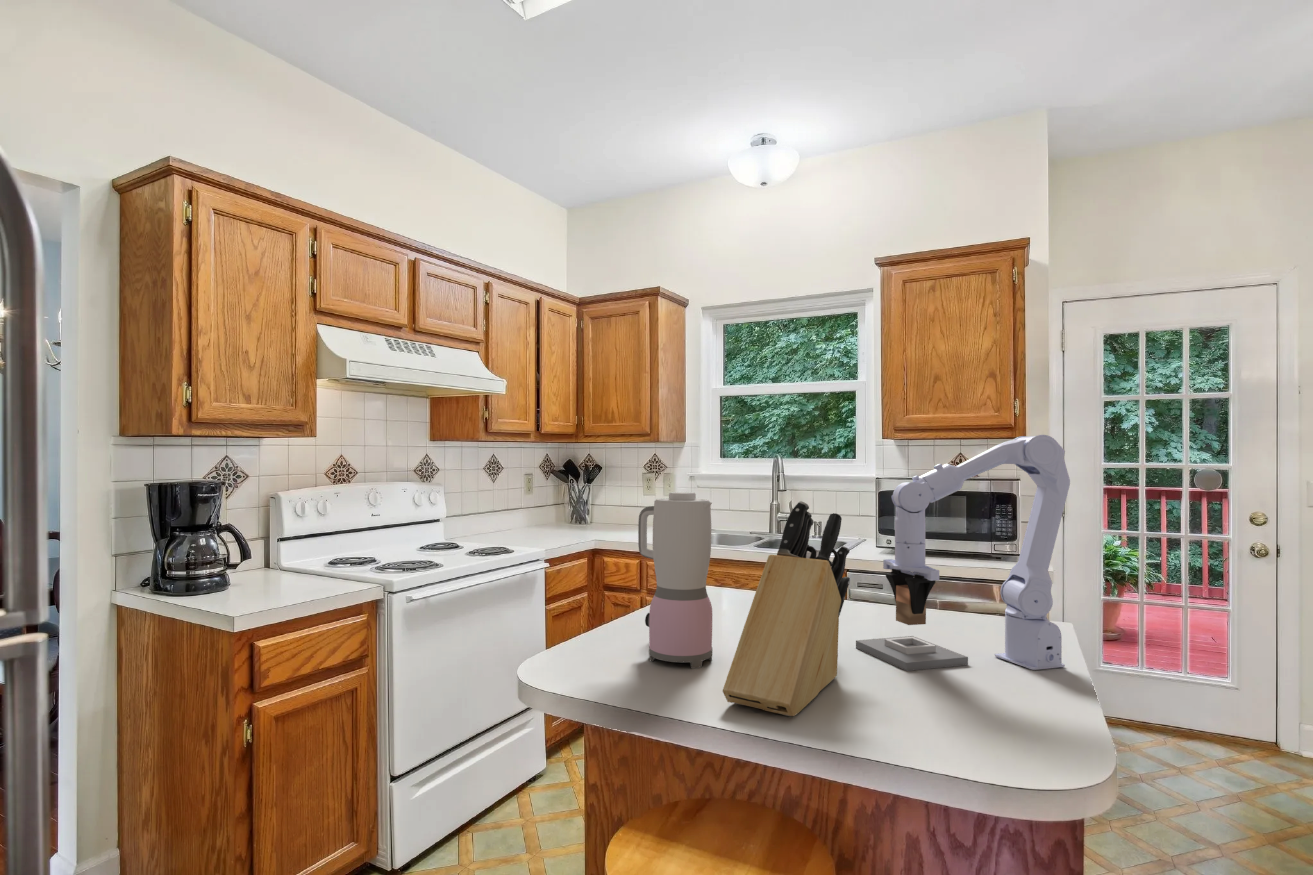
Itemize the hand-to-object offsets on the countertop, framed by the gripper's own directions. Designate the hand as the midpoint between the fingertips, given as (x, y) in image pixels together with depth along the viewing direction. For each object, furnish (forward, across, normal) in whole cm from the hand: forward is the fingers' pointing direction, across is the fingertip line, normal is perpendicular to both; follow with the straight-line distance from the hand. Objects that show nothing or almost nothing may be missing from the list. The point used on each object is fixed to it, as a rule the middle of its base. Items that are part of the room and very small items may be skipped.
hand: (909, 610), depth 137 cm
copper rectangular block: (+2, 0, 0) cm, 2 cm away
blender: (+9, -11, -46) cm, 48 cm away
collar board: (+9, 0, 0) cm, 9 cm away
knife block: (+9, +10, -31) cm, 34 cm away
